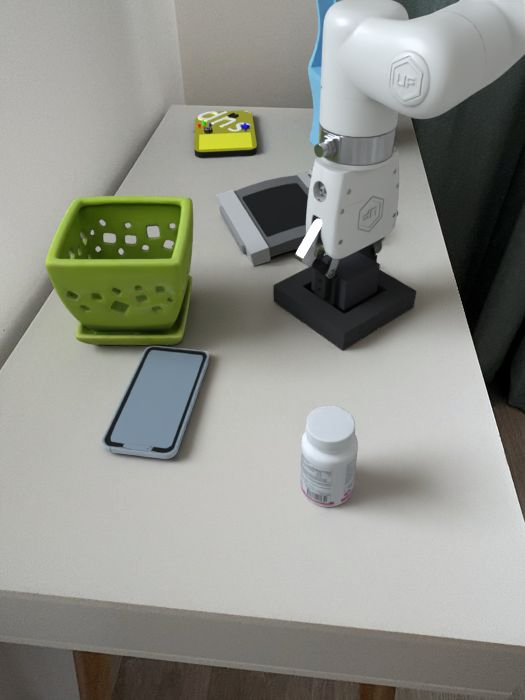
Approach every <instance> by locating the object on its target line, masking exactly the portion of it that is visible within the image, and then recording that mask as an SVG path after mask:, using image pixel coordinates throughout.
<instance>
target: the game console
mask: <svg viewBox="0 0 525 700" xmlns="http://www.w3.org/2000/svg"><path fill="white" fill-rule="evenodd" d="M256 137H257V136H256V131H255V124H254V117H253V112H252V111H250V110H246V109H244V110H243V109H241V110H240V109H239V110H219V111H205V112H203V113H201V114H198V115H197V116H196V117H195V119H194V139H193V140H194V141H193V145H194V146H193V151H194V156H195V157H196V158H199V159H210V158H212V159H213V158H229V157H231V158H232V157H250V156H254V155H256V154H257V153H258V143H257V138H256Z"/></svg>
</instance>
